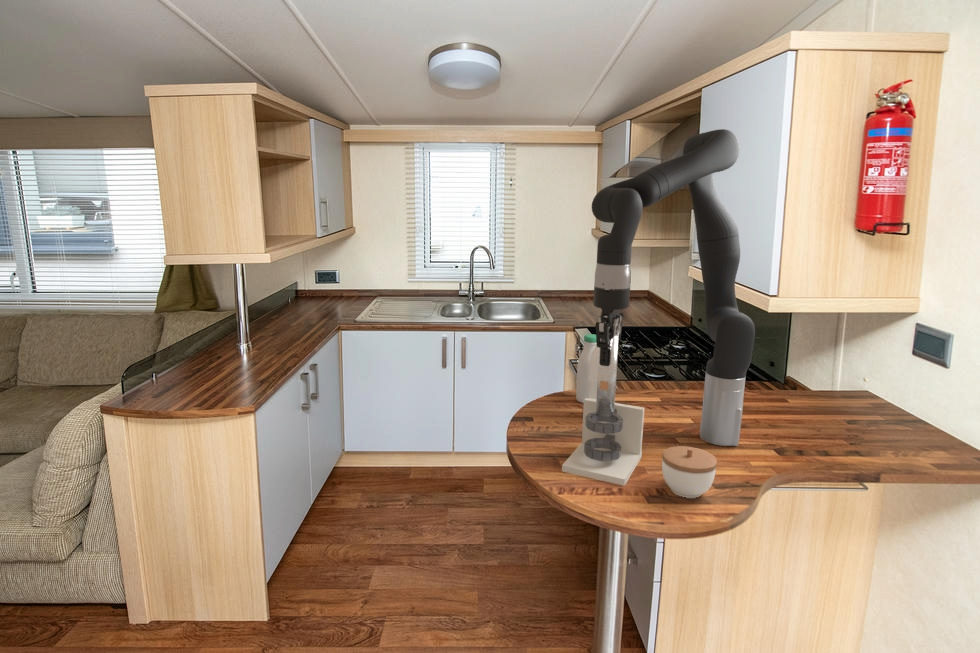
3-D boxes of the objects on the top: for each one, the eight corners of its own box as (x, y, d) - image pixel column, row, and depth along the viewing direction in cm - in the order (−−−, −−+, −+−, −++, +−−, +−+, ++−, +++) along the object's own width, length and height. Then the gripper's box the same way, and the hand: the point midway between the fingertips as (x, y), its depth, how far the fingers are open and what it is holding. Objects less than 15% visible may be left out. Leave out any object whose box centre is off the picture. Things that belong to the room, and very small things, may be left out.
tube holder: (641, 456, 138) (645, 406, 136) (624, 485, 124) (628, 430, 122) (584, 445, 144) (586, 396, 142) (561, 471, 130) (564, 418, 128)
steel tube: (598, 408, 133) (602, 331, 129) (616, 411, 132) (620, 333, 128) (593, 414, 130) (597, 335, 126) (611, 417, 128) (615, 337, 124)
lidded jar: (649, 482, 126) (652, 441, 124) (691, 476, 129) (695, 436, 127) (679, 507, 116) (683, 463, 114) (725, 499, 119) (729, 457, 117)
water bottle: (615, 422, 159) (621, 332, 154) (588, 422, 159) (593, 332, 154) (610, 412, 166) (615, 326, 161) (585, 412, 166) (589, 326, 161)
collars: (627, 445, 137) (629, 411, 135) (615, 464, 128) (617, 427, 126) (594, 439, 141) (596, 405, 139) (579, 456, 131) (581, 420, 129)
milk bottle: (606, 403, 174) (610, 337, 169) (582, 405, 172) (585, 339, 167) (594, 395, 181) (598, 331, 177) (571, 397, 179) (574, 333, 174)
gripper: (604, 279, 132) (600, 353, 136) (584, 287, 120) (580, 368, 124) (637, 282, 129) (632, 357, 133) (621, 291, 117) (615, 373, 120)
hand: (607, 362), depth 128 cm, fingers closed on steel tube, 4 cm apart
